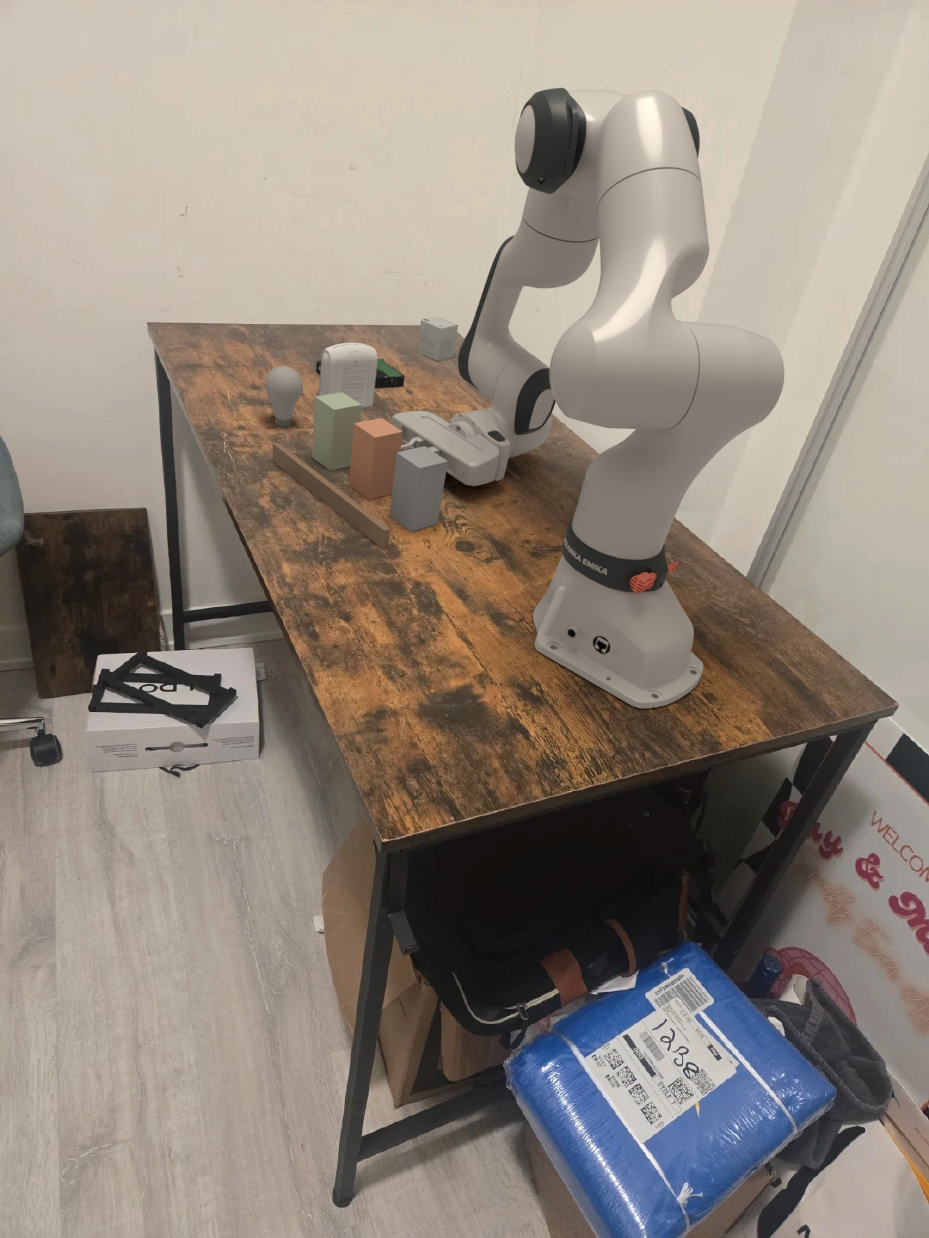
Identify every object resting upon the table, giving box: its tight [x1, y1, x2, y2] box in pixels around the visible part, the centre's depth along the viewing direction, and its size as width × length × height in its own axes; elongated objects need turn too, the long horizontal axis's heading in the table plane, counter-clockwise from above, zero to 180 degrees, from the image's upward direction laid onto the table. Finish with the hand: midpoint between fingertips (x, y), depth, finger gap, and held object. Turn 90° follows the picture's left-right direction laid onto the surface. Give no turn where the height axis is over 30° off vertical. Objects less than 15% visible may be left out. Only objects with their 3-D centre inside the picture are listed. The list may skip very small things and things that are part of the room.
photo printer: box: [318, 342, 378, 408], centre depth 141 cm, size 10×4×12 cm, turn 123°
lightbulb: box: [264, 365, 304, 428], centre depth 130 cm, size 6×6×11 cm
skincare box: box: [417, 316, 459, 362], centre depth 174 cm, size 6×6×7 cm
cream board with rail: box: [271, 442, 391, 549], centre depth 119 cm, size 28×19×4 cm
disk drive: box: [315, 357, 406, 390], centre depth 157 cm, size 10×3×15 cm
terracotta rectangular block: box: [348, 417, 403, 501], centre depth 117 cm, size 5×5×10 cm
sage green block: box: [311, 392, 363, 472], centre depth 122 cm, size 5×5×10 cm
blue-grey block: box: [388, 446, 448, 533], centre depth 111 cm, size 5×5×10 cm
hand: (404, 455), depth 120 cm, fingers closed
